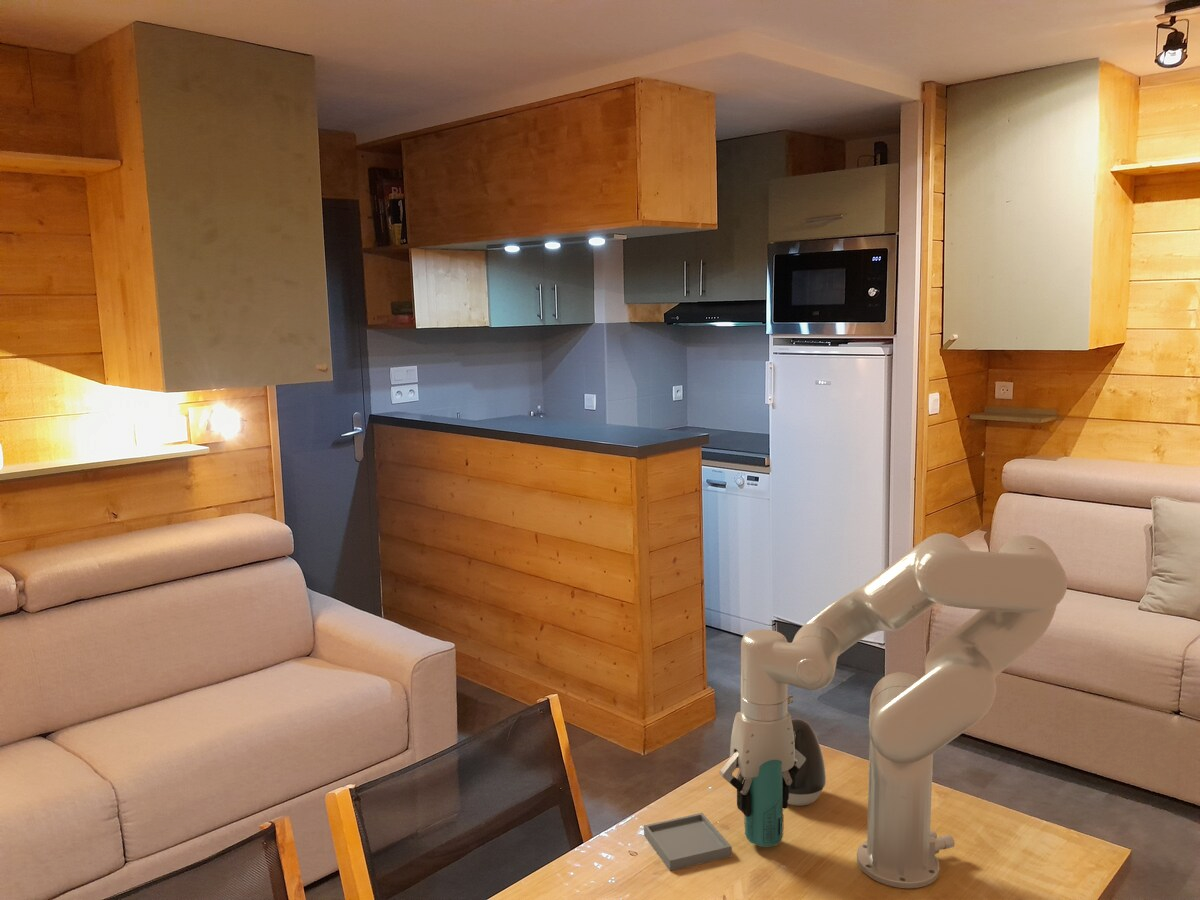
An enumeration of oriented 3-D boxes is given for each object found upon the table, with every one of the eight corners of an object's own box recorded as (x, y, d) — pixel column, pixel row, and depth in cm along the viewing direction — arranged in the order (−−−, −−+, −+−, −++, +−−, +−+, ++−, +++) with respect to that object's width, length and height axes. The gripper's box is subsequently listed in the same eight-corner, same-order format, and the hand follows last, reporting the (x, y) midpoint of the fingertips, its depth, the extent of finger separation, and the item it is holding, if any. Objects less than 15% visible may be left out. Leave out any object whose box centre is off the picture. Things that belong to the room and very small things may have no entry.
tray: (702, 822, 162) (702, 812, 162) (731, 856, 152) (731, 846, 152) (644, 835, 159) (643, 825, 159) (670, 870, 149) (669, 860, 148)
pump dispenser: (781, 778, 177) (782, 703, 175) (833, 794, 171) (835, 716, 169) (757, 802, 169) (758, 723, 166) (811, 819, 163) (813, 737, 160)
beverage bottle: (783, 857, 151) (784, 742, 149) (742, 853, 153) (742, 739, 150) (783, 835, 158) (784, 724, 155) (744, 832, 159) (744, 721, 156)
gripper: (797, 689, 158) (796, 788, 161) (705, 705, 152) (705, 807, 155) (822, 707, 151) (820, 809, 154) (727, 724, 145) (726, 830, 148)
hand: (762, 807), depth 154 cm, fingers closed on beverage bottle, 6 cm apart
